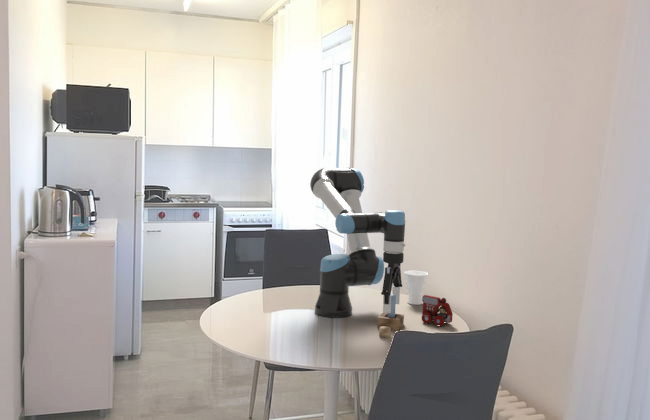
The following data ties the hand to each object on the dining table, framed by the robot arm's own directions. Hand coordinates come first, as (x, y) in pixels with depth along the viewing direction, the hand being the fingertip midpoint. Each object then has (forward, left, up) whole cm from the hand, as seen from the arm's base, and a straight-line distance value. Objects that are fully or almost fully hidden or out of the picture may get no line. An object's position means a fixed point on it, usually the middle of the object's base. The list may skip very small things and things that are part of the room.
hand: (391, 308), depth 214 cm
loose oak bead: (+1, -12, -7) cm, 14 cm away
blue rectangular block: (0, 0, -7) cm, 7 cm away
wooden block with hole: (0, 0, -7) cm, 7 cm away
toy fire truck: (+15, +12, -7) cm, 21 cm away
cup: (+1, +38, -7) cm, 39 cm away
